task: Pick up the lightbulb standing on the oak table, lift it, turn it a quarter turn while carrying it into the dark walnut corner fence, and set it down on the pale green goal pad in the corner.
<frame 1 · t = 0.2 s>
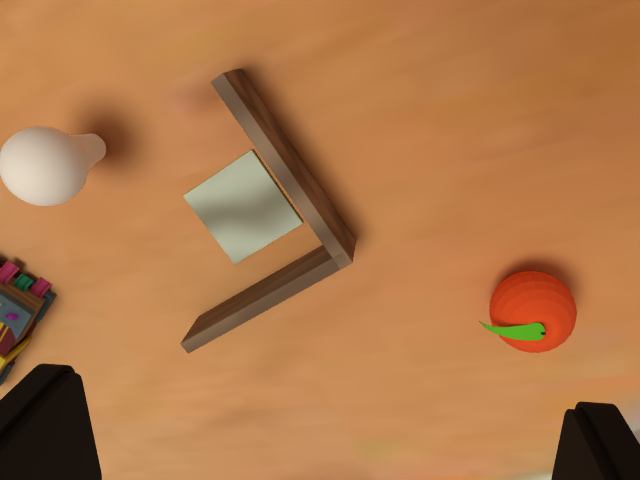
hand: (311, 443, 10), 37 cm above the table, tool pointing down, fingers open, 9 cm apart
clementine: (515, 292, 48), on the table
corner fence: (228, 205, 48), on the table
lightbulb: (98, 145, 48), on the table
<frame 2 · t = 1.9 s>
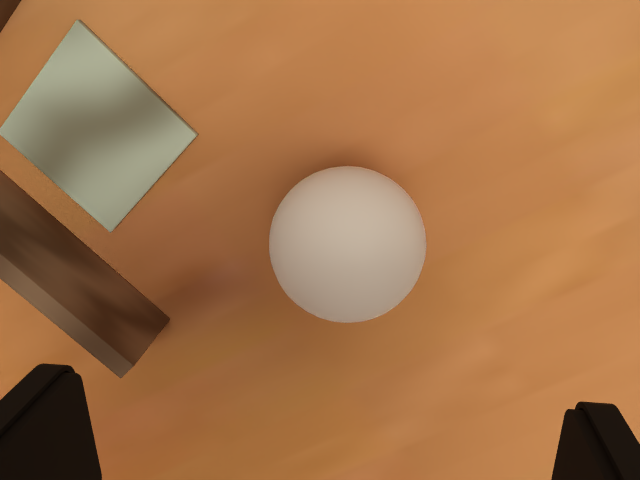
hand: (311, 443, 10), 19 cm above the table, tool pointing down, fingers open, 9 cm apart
corner fence: (122, 133, 28), on the table
lightbulb: (357, 189, 28), on the table
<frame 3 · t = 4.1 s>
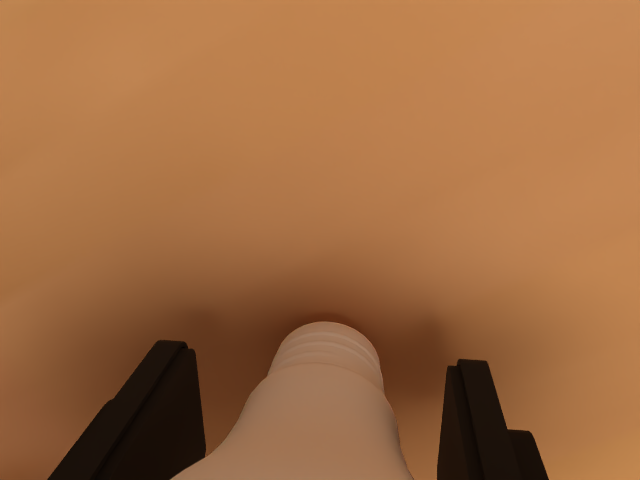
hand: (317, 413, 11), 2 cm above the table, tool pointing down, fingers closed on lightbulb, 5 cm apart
lightbulb: (330, 344, 13), on the table, touching gripper
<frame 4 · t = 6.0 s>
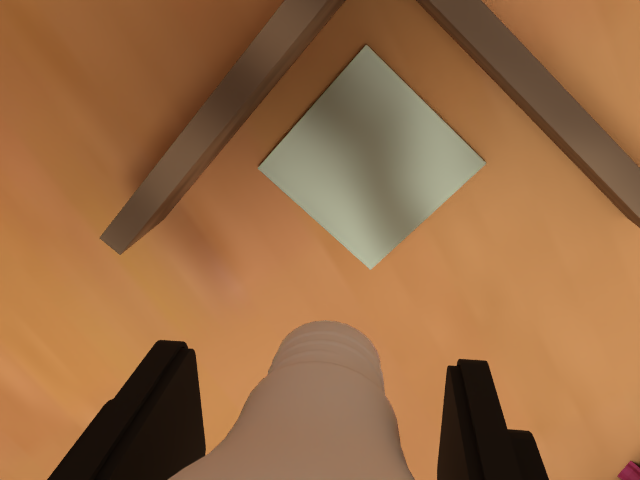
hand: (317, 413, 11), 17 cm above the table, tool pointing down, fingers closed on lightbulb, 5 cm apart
corner fence: (369, 191, 27), on the table
lightbulb: (331, 343, 13), point 15 cm above the table, touching gripper
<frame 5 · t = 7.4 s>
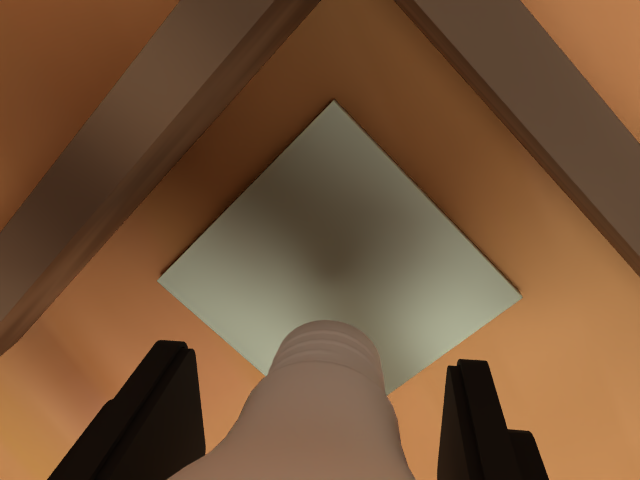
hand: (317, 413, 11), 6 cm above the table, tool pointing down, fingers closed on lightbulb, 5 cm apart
corner fence: (333, 323, 17), on the table
lightbulb: (331, 342, 13), point 3 cm above the table, touching gripper
when the fingers open (4 cm above the table, at t = 8.1 s): lightbulb moves 1 cm, resting on corner fence.
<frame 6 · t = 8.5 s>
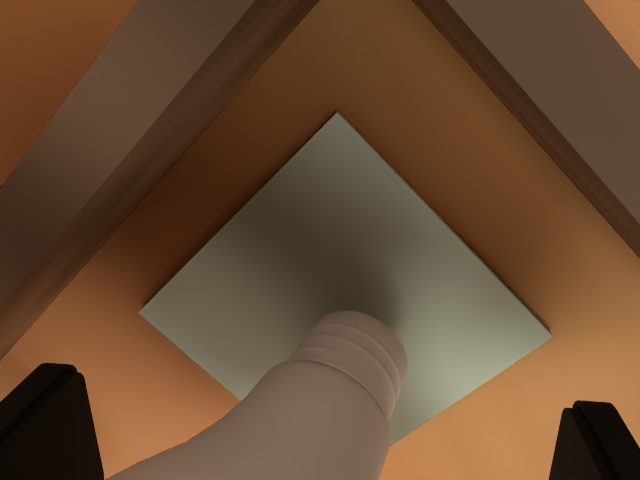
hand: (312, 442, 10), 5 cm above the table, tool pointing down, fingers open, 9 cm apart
corner fence: (336, 362, 15), on the table
lightbulb: (374, 323, 14), point 1 cm above the table, touching corner fence, gripper
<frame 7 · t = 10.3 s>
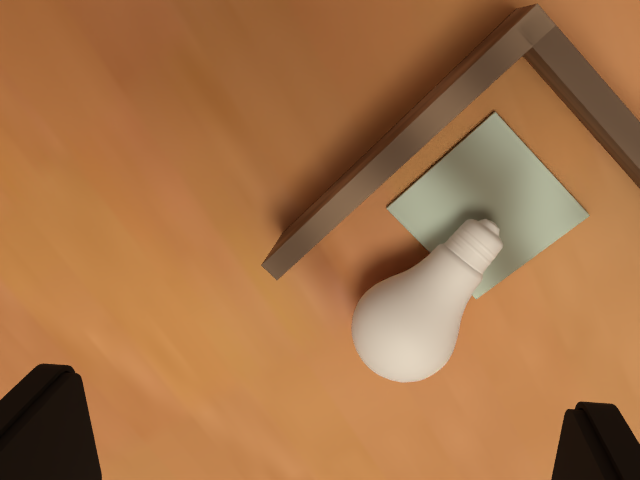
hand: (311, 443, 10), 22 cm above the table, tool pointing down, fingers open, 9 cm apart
corner fence: (482, 233, 31), on the table
lightbulb: (496, 219, 29), point 1 cm above the table, touching corner fence
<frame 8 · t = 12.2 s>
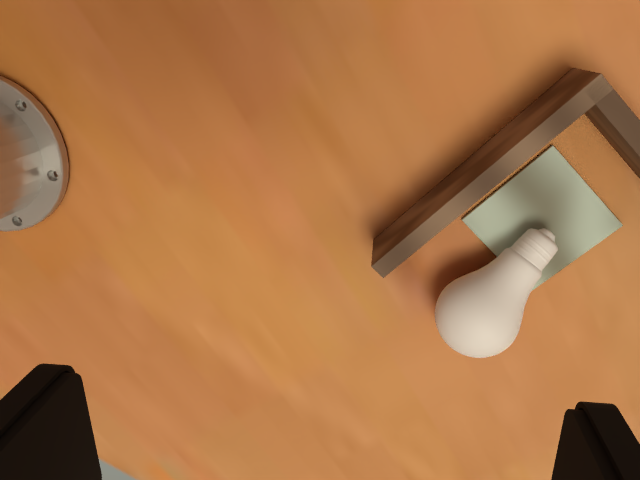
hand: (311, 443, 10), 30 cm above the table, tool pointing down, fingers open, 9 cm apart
corner fence: (537, 239, 39), on the table
lightbulb: (552, 229, 37), point 1 cm above the table, touching corner fence
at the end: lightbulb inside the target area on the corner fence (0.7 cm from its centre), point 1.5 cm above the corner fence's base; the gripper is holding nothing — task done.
